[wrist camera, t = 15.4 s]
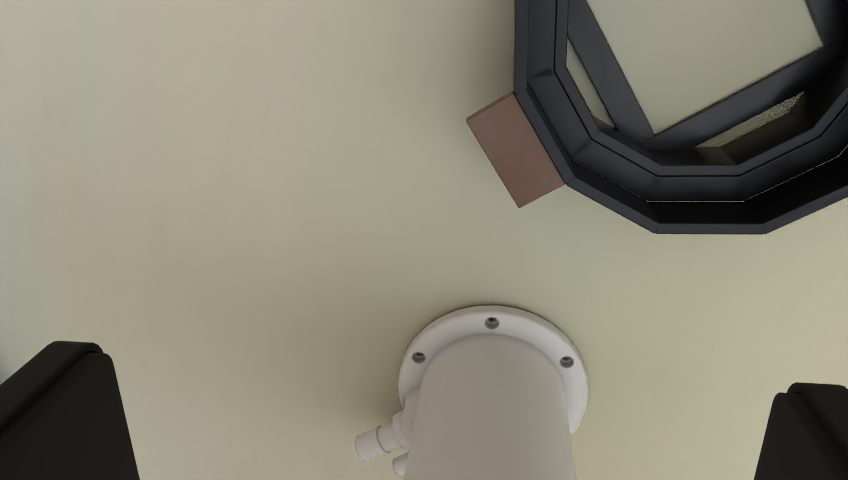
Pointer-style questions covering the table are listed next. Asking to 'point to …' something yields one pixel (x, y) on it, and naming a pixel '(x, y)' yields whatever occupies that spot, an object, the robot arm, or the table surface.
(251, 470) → the table surface
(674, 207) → the wok
